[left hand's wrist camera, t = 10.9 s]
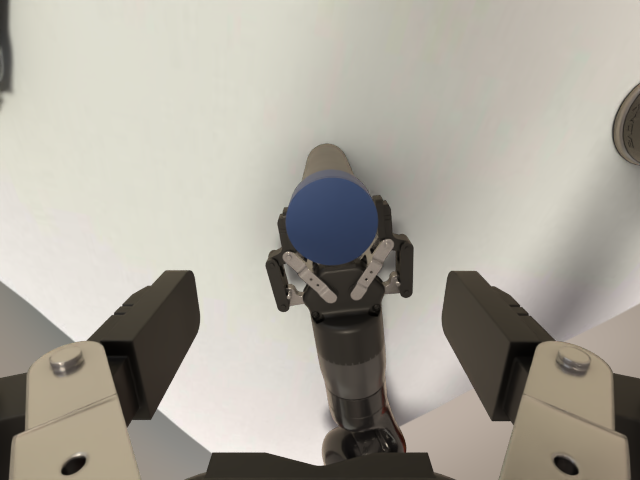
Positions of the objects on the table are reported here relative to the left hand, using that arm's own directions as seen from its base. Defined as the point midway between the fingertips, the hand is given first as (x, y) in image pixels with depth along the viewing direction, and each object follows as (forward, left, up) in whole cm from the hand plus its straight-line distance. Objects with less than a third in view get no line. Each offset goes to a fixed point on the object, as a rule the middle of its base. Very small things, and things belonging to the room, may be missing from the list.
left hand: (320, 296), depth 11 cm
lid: (-1, 0, -9) cm, 9 cm away
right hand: (-1, +3, -22) cm, 22 cm away
